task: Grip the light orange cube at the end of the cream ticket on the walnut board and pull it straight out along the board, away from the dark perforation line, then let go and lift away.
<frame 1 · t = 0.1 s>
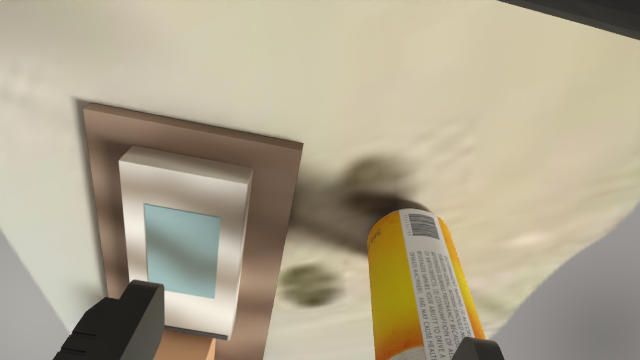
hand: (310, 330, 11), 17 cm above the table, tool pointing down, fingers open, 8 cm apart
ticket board: (194, 281, 35), on the table
beer can: (406, 233, 31), on the table
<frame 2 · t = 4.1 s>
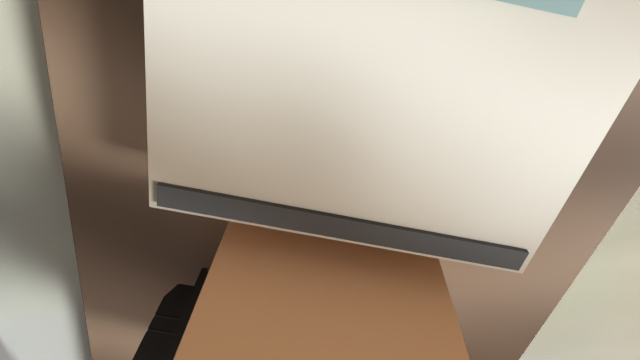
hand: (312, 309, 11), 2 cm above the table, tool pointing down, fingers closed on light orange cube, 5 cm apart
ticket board: (367, 63, 10), on the table
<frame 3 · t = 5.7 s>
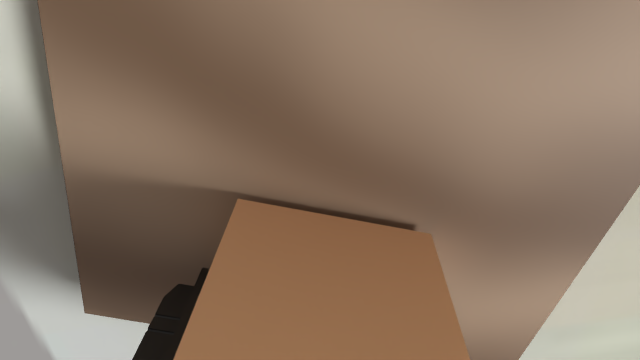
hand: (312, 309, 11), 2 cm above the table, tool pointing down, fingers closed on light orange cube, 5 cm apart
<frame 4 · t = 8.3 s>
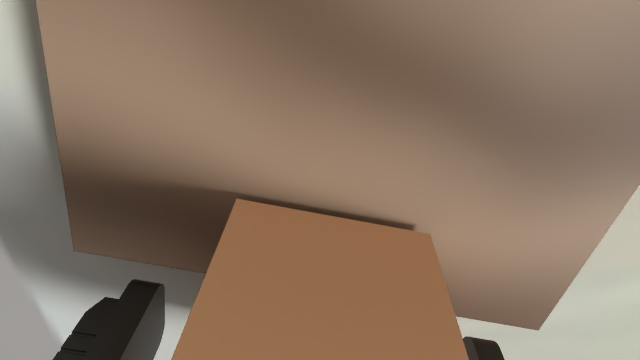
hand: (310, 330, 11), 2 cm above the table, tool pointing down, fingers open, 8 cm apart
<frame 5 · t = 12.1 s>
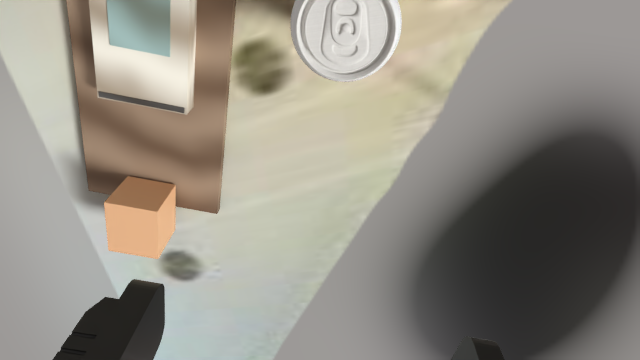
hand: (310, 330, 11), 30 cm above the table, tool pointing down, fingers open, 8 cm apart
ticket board: (154, 64, 38), on the table
light orange cube: (142, 217, 42), point 4 cm above the table, slide at 8.4 cm
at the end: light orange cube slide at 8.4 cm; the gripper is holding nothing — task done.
